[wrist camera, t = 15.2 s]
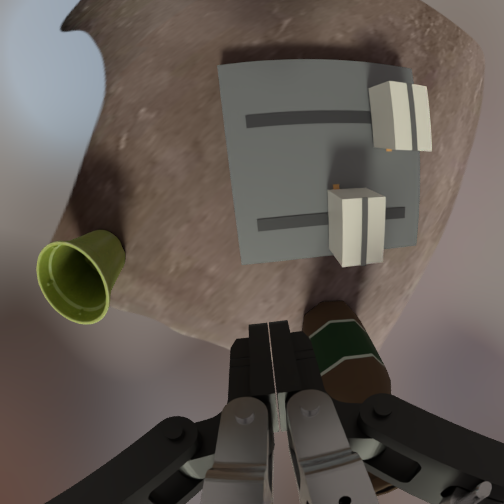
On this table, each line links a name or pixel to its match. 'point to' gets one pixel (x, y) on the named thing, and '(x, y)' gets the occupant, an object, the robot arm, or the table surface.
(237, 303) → the table surface
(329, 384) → the beer bottle
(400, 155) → the fader board
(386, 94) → the block
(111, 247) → the plant pot
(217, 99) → the table surface
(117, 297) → the table surface
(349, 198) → the block
